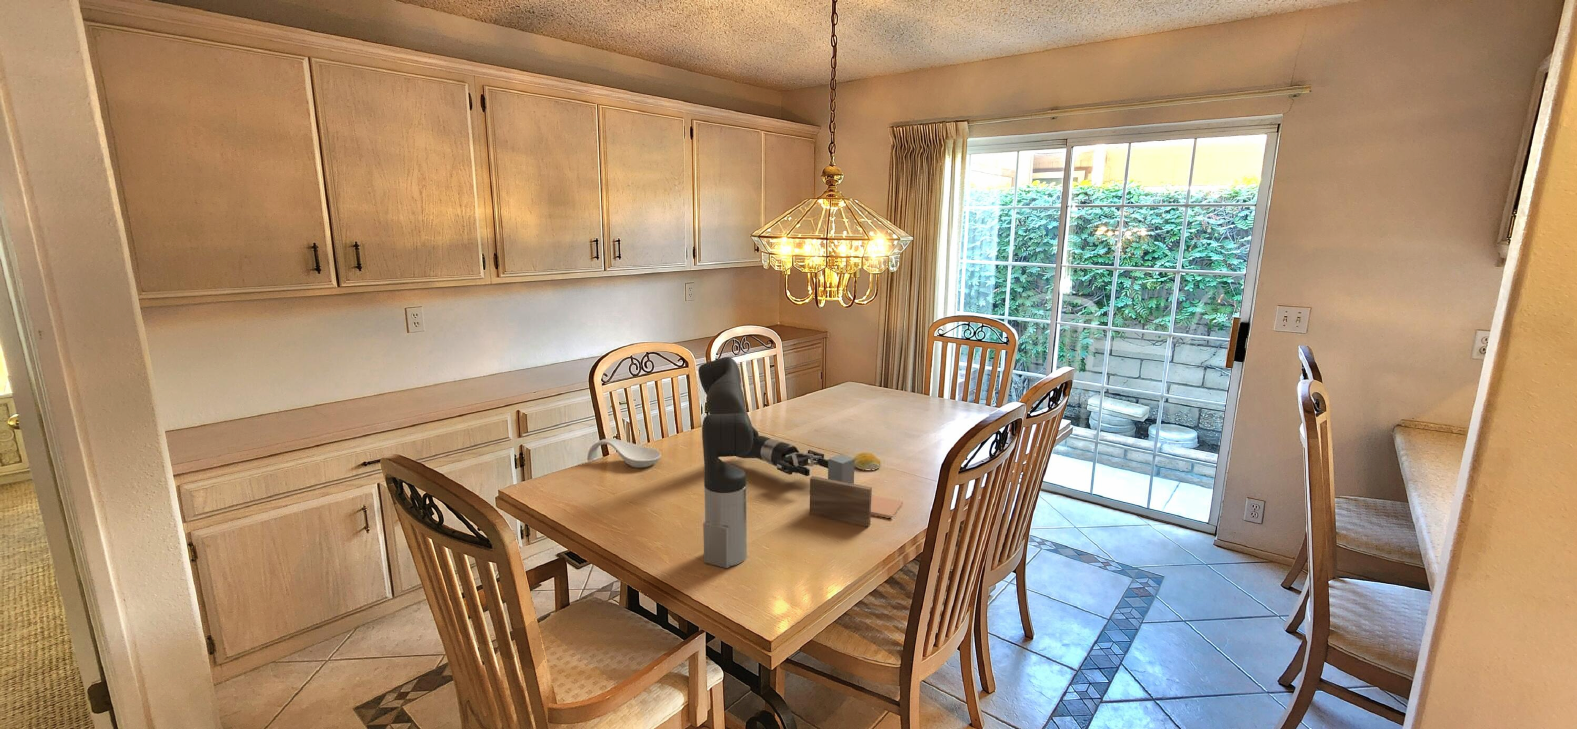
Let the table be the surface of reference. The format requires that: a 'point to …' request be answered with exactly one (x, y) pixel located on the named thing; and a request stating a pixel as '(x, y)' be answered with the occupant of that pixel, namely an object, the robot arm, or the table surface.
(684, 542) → the table surface
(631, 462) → the spoon rest
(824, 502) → the walnut screen
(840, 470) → the slate block
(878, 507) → the terracotta tile
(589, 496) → the table surface
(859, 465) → the bread roll
